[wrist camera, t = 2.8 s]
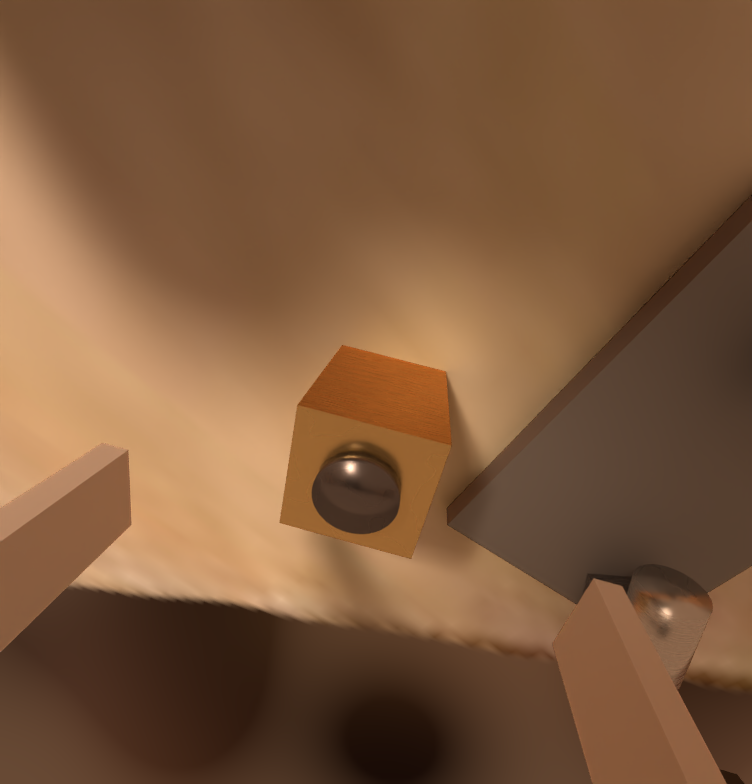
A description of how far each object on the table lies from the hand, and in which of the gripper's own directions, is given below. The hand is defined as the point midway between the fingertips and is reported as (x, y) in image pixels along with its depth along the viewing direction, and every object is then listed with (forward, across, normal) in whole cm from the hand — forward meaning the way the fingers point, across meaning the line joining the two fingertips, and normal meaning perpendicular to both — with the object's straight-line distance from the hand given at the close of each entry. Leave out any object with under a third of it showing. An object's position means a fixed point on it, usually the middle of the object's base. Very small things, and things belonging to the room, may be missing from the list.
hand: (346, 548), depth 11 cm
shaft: (+7, +14, -5) cm, 16 cm away
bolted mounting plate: (+8, +13, +2) cm, 16 cm away
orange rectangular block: (+8, 0, +1) cm, 9 cm away
